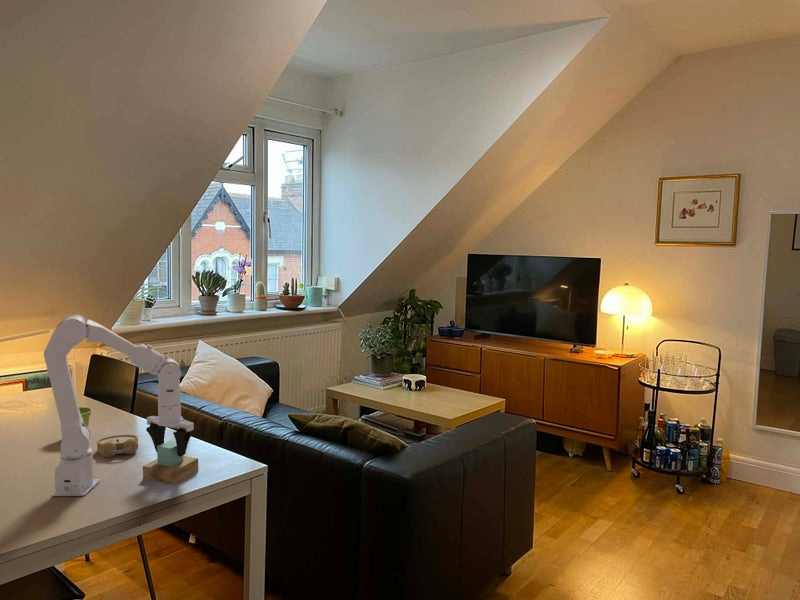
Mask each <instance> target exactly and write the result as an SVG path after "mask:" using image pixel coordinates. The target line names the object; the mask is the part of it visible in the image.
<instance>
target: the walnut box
mask: <svg viewBox="0 0 800 600" xmlns="http://www.w3.org/2000/svg"><path fill="white" fill-rule="evenodd" d="M197 472H199V458H198V457H192V456H185V455H183V462H180V463H178V464H176V465H174V466H171V467H169V466H164V465H160V464H158V461H157V458H156V459H155V460H153V461H150V462H148V463H146V464H144V465H142V479H143V480H145V479H148V480H147V481H151V480H153V482H157V481H159V482H158V483H163V482H164V483H165V484H170V485H176V484H178V483H179V481H180V482H182V481H183V480H185V479H186V477H187V478H188V477H190V476H192V475H193V473H194V474H195V473H197ZM191 474H192V475H191ZM189 475H190V476H189ZM184 478H185V479H184Z"/></svg>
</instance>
